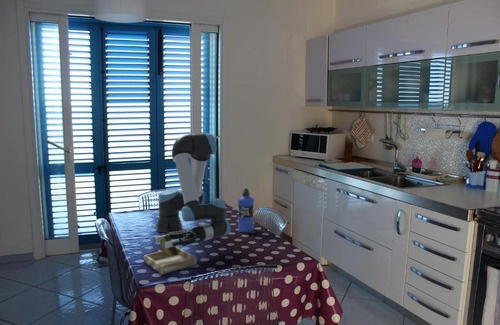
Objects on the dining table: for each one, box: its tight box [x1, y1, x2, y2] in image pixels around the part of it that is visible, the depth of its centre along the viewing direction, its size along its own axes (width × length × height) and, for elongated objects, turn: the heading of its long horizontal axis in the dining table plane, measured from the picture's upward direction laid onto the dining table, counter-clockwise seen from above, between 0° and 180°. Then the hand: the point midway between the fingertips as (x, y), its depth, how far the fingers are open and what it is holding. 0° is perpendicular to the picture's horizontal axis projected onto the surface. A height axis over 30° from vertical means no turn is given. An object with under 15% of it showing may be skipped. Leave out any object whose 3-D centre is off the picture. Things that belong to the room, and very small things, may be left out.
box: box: [143, 246, 198, 275], centre depth 199 cm, size 18×18×4 cm
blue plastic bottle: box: [237, 188, 255, 234], centre depth 248 cm, size 9×9×25 cm
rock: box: [159, 233, 179, 256], centre depth 198 cm, size 11×9×10 cm
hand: (160, 242), depth 194 cm, fingers closed on rock, 8 cm apart
